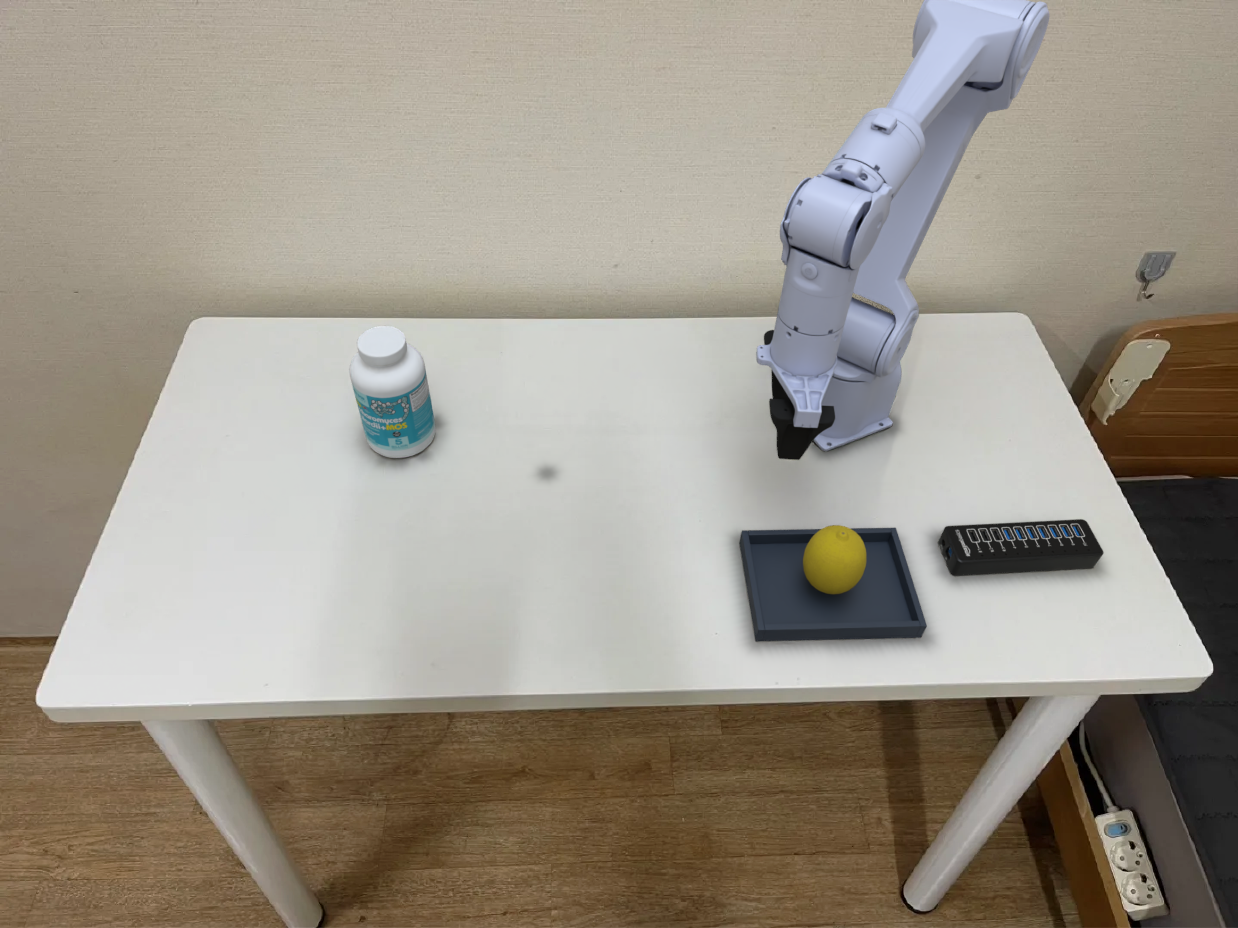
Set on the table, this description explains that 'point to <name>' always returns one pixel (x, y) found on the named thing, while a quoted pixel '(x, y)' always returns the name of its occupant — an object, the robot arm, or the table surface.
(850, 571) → the lemon
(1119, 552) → the table surface
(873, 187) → the robot arm
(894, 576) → the tray
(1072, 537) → the multiport hub
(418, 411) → the pill bottle
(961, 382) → the table surface
